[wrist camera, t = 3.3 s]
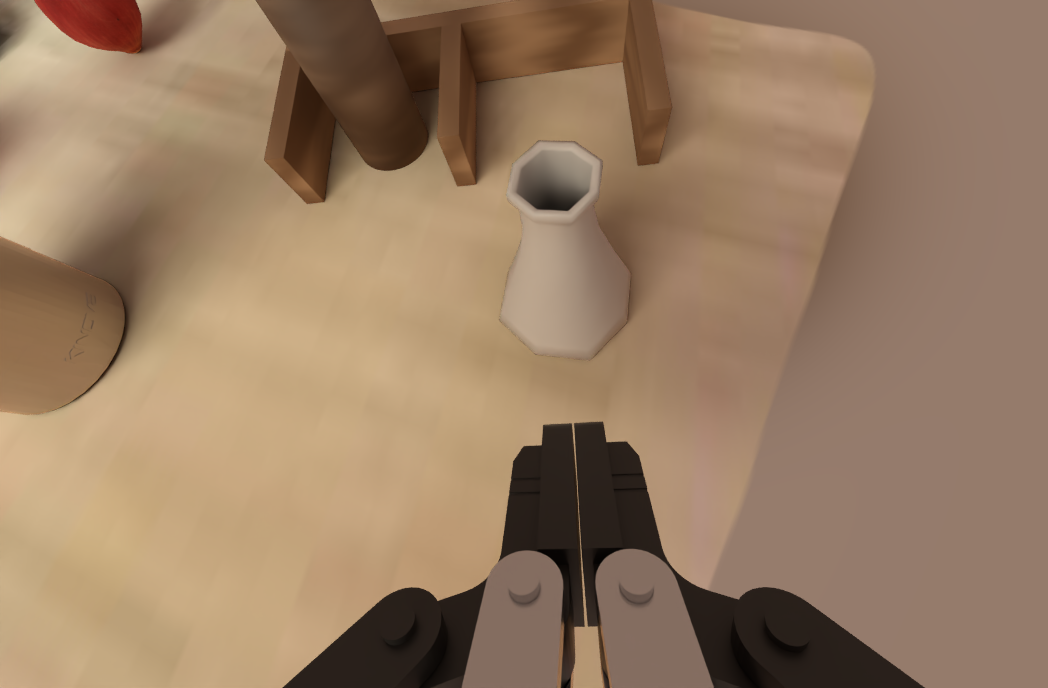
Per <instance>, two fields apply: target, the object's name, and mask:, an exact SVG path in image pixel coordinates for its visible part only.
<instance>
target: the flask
mask: <svg viewBox="0 0 1048 688" xmlns="http://www.w3.org/2000/svg"><path fill="white" fill-rule="evenodd" d="M602 167H603V161H602V160H601V159H599V158H598V157H597V156H595V155H594V154H592V153H591V152H589V151H588V150H587V149H585V148H584V147H582V146H581V145H579V144H578V143H576V142H575V141H541V140H538V141H537V142H536V143H535V144H534V145H533V146H532V147H531V148H529V149H528V150H527V151H526V152H525V153H524V154H523V155H522V156H520V157H519V158H518V159H517V160H516V161H515V162H514V163H513V164H512V168H511V174H510V179H509V184H508V189H507V194H506V196H507V200H508V201H509V203H510V204H512V205H513V206H514V207H515V208H517V209H518V210H519V212H520V217H521V222H522V238H521V241H520V244H519V247H518V250H517V253H516V255H515V257H514V259H513V262H512V264H511V266H510V268H509V271H508V275H507V280H506V285H505V291H504V296H503V302H502V307H501V313H500V318H499V320H500V321H501V322H502V323H503V324H504V325H505V326H506V327H507V328H508V329H509V330H510V331H511V332H512V333H513V334H514V335H515V336H516V337H518V338H519V339H520V340H521V341H522V342H523V343H524V344H525V345H526V346H527V347H528V348H529V349H530V350H531V351H532V352H533V353H534V354H537V355H545V356H554V357H563V358H572V359H580V360H589V361H590V360H591V358H592V357H593V356H594V355H595V354H596V353H597V352H598V351H599V350H600V349H601V348H602V347H603V346H604V345H605V344H606V343H607V342H608V341H609V340H610V339H611V338H612V337H613V336H614V335H615V334H616V333H617V332H618V331H619V330H620V329H621V328H622V327H623V326H624V325H625V324H626V323H627V316H628V305H629V294H630V282H631V273H630V272H629V270H628V268H627V267H626V266H625V264H624V263H623V262H622V260H621V259H620V258H619V256H618V255H617V254H616V252H615V251H614V249H613V248H612V246H611V244H610V243H609V241H608V240H607V238H606V236H605V235H604V233H603V232H602V230H601V228H600V227H599V224H598V220H597V216H596V212H595V209H594V204H595V203H596V202H597V200H598V198H599V191H600V183H601V175H602Z"/></svg>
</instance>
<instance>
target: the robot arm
mask: <svg viewBox="0 0 1048 688" xmlns="http://www.w3.org/2000/svg"><path fill="white" fill-rule="evenodd" d="M124 323H125V315H124V306H123V303H122V299H121V297H120V295H119V294H118V292H117V291H116V289H115V288H114V287H113V286H111V285H110V284H109V283H108V282H106V281H104V280H102V279H99V278H97V277H94V276H92V275H90V274H87V273H85V272H83V271H80V270H78V269H76V268H73V267H71V266H69V265H66V264H64V263H61V262H59V261H57V260H54V259H52V258H50V257H47V256H45V255H43V254H40V253H38V252H36V251H33V250H31V249H29V248H27V247H25V246H22V245H20V244H17V243H15V242H13V241H10V240H8V239H5V238H3V237H1V236H0V412H8V413H16V414H25V415H30V414H42V413H45V412H49V411H53V410H56V409H58V408H60V407H62V406H64V405H66V404H68V403H70V402H71V401H73V400H74V399H76V398H77V397H78V396H80V395H81V394H83V393H84V392H85V391H86V390H87V389H88V388H89V387H90V386H91V385H93V384H94V383H95V382H96V381H97V380H98V378H99V377H100V376H101V375H102V373H103V372H104V371H105V369H106V368H107V367H108V365H109V364H110V362H111V360H112V358H113V357H114V355H115V353H116V351H117V349H118V346H119V343H120V341H121V338H122V334H123V329H124ZM574 428H575V445H576V463H577V480H578V497H579V515H580V532H581V549H582V561H583V573H584V585H585V597H586V609H587V621H588V626H598V636H599V648H600V660H601V675H602V682H603V688H924V687H923V686H922V685H920V684H919V683H918V682H916V681H915V680H913V679H912V678H911V677H909V676H908V675H906V674H905V673H904V672H902V671H901V670H900V669H898V668H897V667H896V666H894V665H893V664H891V663H890V662H889V661H887V660H886V659H884V658H883V657H882V656H880V655H879V654H878V653H876V652H875V651H874V650H872V649H871V648H870V647H868V646H867V645H865V644H864V643H863V642H861V641H860V640H859V639H857V638H856V637H855V636H853V635H852V634H850V633H849V632H848V631H846V630H845V629H844V628H842V627H841V626H839V625H838V624H837V623H835V622H834V621H832V620H831V619H830V618H828V617H827V616H826V615H824V614H823V613H821V612H820V611H819V610H817V609H816V608H815V607H813V606H812V605H811V604H809V603H808V602H806V601H805V600H803V599H802V598H800V597H798V596H796V595H794V594H792V593H790V592H787V591H784V590H780V589H776V588H768V587H763V588H756V589H752V590H750V591H748V592H746V593H745V594H744V595H742V596H741V597H740V599H739V600H738V599H734V598H731V597H727V596H724V595H721V594H718V593H714V592H711V591H708V590H705V589H702V588H700V587H698V586H696V585H694V584H692V583H690V582H689V581H687V580H686V579H684V578H683V577H682V576H681V575H679V574H678V573H677V572H676V571H675V570H674V569H673V568H672V566H671V565H670V564H669V562H668V561H667V559H666V557H665V555H664V552H663V549H662V546H661V542H660V538H659V534H658V530H657V526H656V522H655V518H654V514H653V510H652V506H651V502H650V498H649V494H648V492H647V486H646V482H645V478H644V475H643V470H642V466H641V462H640V458H639V455H638V454H637V453H636V452H635V451H634V450H633V448H632V447H631V446H630V445H629V444H628V443H627V442H606V437H605V430H604V424H603V422H587V423H574ZM578 497H577V481H576V468H575V456H574V443H573V431H572V423H569V424H549V425H543V438H542V445H540V446H523V448H522V449H521V451H520V452H519V454H518V455H517V457H516V458H515V460H514V461H513V468H512V476H511V483H510V491H509V498H508V506H507V513H506V521H505V528H504V536H503V543H502V551H501V556H500V559H499V561H498V563H497V564H496V565H495V566H494V568H493V569H492V570H491V572H490V574H489V576H488V577H487V578H486V579H485V580H484V581H483V582H482V583H481V584H479V585H478V586H476V587H474V588H473V589H470V590H468V591H466V592H463V593H460V594H457V595H454V596H451V597H448V598H445V599H442V600H440V601H437V599H436V598H435V597H434V596H433V595H432V594H431V593H430V592H428V591H426V590H424V589H421V588H412V587H411V588H404V589H401V590H398V591H395V592H393V593H391V594H389V595H388V596H386V597H384V598H383V599H382V600H381V601H379V602H378V603H377V604H376V605H375V606H374V607H373V608H371V609H370V610H369V611H368V612H367V613H366V614H365V615H364V616H362V617H361V618H360V619H359V620H358V621H357V622H356V623H355V624H354V625H352V626H351V627H350V628H349V629H348V630H347V631H346V632H345V633H343V634H342V635H341V636H340V637H339V638H338V639H337V640H336V641H334V642H333V643H332V644H331V645H330V646H329V647H328V648H327V649H325V650H324V651H323V652H322V653H321V654H320V655H319V656H318V657H316V658H315V659H314V660H313V661H312V662H311V663H310V664H309V665H307V666H306V667H305V668H304V669H303V670H302V671H301V672H300V673H298V674H297V675H296V676H295V677H294V678H293V679H292V680H291V681H289V682H288V683H287V684H286V685H285V686H284V687H283V688H573V669H574V664H575V637H574V627H585V625H584V607H583V588H582V570H581V552H580V534H579V515H578Z"/></svg>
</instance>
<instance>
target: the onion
mask: <svg viewBox="0 0 1048 688" xmlns="http://www.w3.org/2000/svg"><path fill="white" fill-rule="evenodd" d="M34 1H35V3H36V4H37V6H38V7H39V8H40V9H41V10H42V12H43V13H44V14H45V15H46V16H47V17H48V18H49V19H50V20H51V21H52V22H53V23H54V24H55V25H56V26H57V27H58V28H59V29H60V30H61V31H62V32H64V33H65V34H66V35H68V36H69V37H71V38H72V39H74V40H75V41H77V42H79V43H82V44H84V45H87V46H89V47H93V48H96V49H102V50H108V51H121V52H126V53H132V54H133V53H137V52H139V51H140V49H141V47H142V20H141V13H140V10H139V8H138V5H137V3H136V0H34Z"/></svg>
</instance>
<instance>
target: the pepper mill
mask: <svg viewBox="0 0 1048 688" xmlns="http://www.w3.org/2000/svg"><path fill="white" fill-rule="evenodd" d="M256 2H257V3H258V4H259V6H260V7H261V9H262V10H263V12H264V13H265V15H266V16H267V18H268V19H269V21H270V22H271V24H272V25H273V27H274V28H275V30H276V31H277V33H278V34H279V36H280V37H281V38H282V40H283V41H284V43H285V44H286V46H287V47H288V49H289V50H290V52H291V53H292V55H293V56H294V58H295V59H296V61H297V62H298V64H299V65H300V67H301V68H302V70H303V71H304V72H305V74H306V75H307V77H308V78H309V80H310V81H311V83H312V84H313V86H314V87H315V89H316V90H317V92H318V93H319V95H320V96H321V98H322V99H323V101H324V102H325V104H326V105H327V106H328V108H329V109H330V111H331V112H332V114H333V115H334V117H335V118H336V120H337V121H338V123H339V124H340V126H341V127H342V129H343V130H344V132H345V133H346V135H347V136H348V138H349V139H350V140H351V142H352V143H353V145H354V146H355V148H356V149H357V151H358V152H359V154H360V155H361V157H362V158H363V160H364V161H365V162H366V163H367V164H368V165H369V166H371V167H373V168H375V169H378V170H384V171H389V170H396V169H400V168H403V167H405V166H407V165H409V164H410V163H412V162H413V161H415V160H416V159H417V158H418V157H419V156H420V155H421V153H422V152H423V151H424V149H425V147H426V145H427V141H428V131H427V128H426V125H425V123H424V121H423V118H422V116H421V114H420V112H419V109H418V107H417V105H416V102H415V100H414V98H413V96H412V93H411V91H410V89H409V86H408V84H407V82H406V79H405V77H404V75H403V73H402V70H401V68H400V66H399V63H398V61H397V59H396V57H395V54H394V52H393V50H392V47H391V45H390V43H389V41H388V38H387V36H386V34H385V31H384V29H383V27H382V24H381V22H380V20H379V18H378V15H377V13H376V11H375V8H374V6H373V4H372V2H371V0H256Z"/></svg>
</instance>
